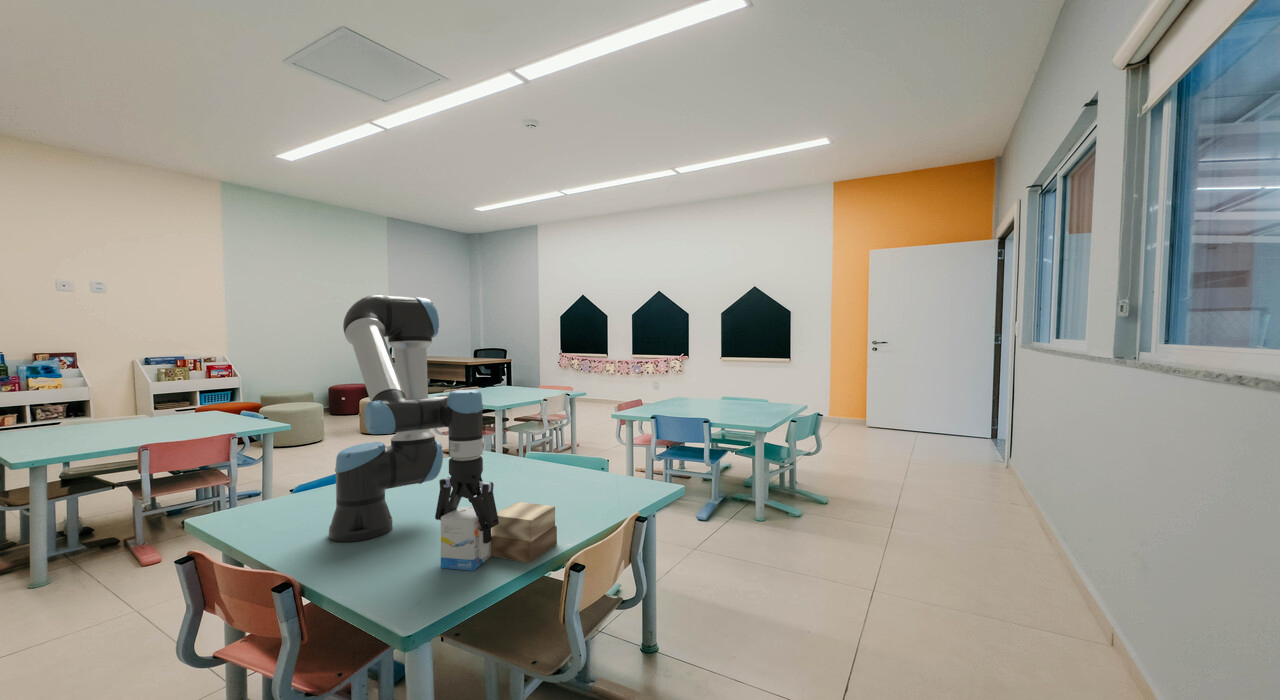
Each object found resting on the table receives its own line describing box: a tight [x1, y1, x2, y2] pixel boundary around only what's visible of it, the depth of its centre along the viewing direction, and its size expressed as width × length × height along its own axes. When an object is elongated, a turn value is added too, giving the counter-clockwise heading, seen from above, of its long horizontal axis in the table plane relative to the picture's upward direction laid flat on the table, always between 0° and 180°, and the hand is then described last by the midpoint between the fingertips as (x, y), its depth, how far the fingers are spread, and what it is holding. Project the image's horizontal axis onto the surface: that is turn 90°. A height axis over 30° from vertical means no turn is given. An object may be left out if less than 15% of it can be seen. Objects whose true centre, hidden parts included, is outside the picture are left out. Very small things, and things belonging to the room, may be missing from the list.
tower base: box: [491, 525, 558, 564], centre depth 125 cm, size 12×12×5 cm
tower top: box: [491, 501, 556, 542], centre depth 126 cm, size 11×11×5 cm
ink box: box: [440, 506, 492, 572], centre depth 118 cm, size 9×8×12 cm
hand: (466, 553), depth 118 cm, fingers closed on ink box, 9 cm apart
